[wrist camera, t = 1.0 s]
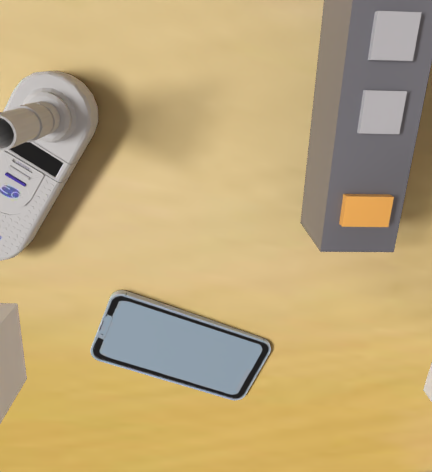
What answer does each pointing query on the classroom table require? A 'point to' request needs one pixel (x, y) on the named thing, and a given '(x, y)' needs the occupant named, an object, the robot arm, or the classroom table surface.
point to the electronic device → (40, 151)
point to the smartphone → (178, 346)
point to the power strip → (365, 121)
